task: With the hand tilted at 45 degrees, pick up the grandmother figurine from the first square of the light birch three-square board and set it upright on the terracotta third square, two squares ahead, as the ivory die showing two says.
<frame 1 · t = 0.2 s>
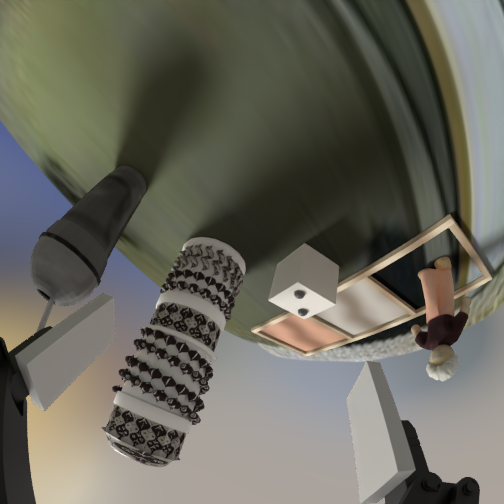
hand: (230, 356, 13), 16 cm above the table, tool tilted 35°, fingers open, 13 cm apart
game board: (357, 310, 36), on the table
ivory die: (307, 264, 31), on the table
beverage cup: (130, 180, 28), on the table
grandmother figurine: (432, 270, 27), resting in game board
decorative candle: (214, 259, 35), on the table
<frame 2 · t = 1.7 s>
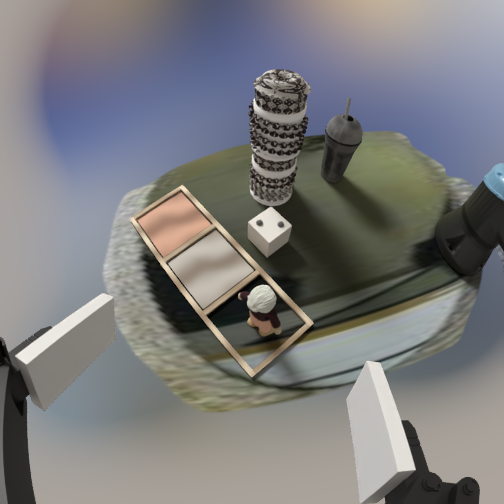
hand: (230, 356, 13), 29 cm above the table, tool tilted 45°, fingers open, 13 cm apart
game board: (209, 267, 47), on the table
ivory die: (268, 239, 49), on the table
beverage cup: (330, 175, 58), on the table
grandmother figurine: (258, 322, 43), resting in game board
decorative candle: (270, 190, 55), on the table
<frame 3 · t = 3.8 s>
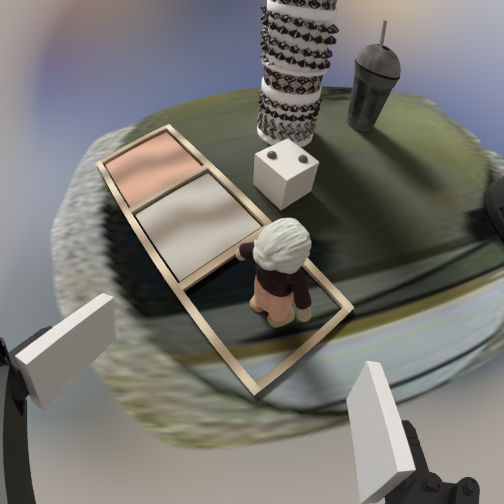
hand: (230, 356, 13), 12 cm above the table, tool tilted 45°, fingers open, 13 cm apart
game board: (194, 220, 31), on the table
ivory die: (282, 187, 34), on the table
beverage cup: (358, 125, 42), on the table
grandmother figurine: (267, 304, 27), resting in game board
decorative candle: (284, 132, 39), on the table
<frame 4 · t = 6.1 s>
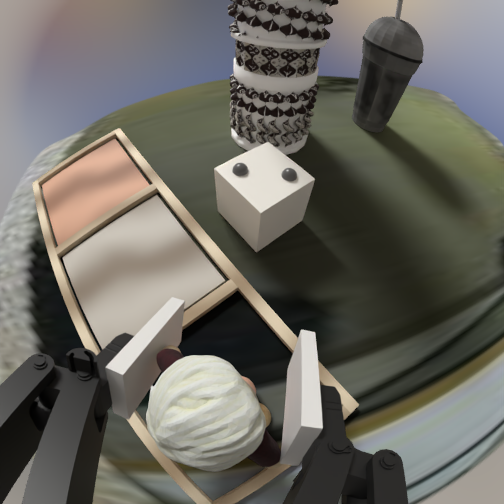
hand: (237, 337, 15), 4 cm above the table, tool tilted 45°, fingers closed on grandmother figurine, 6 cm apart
game board: (132, 269, 20), on the table
ivory die: (260, 215, 23), on the table
beverage cup: (367, 123, 32), on the table
grandmother figurine: (231, 402, 16), resting in game board, touching gripper
decorative candle: (268, 133, 29), on the table
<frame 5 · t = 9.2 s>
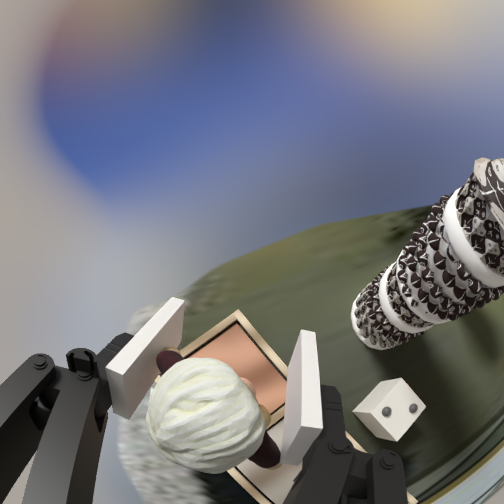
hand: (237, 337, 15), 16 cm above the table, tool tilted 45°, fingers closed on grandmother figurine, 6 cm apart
game board: (296, 462, 24), on the table
ivory die: (378, 409, 26), on the table
grandmother figurine: (231, 403, 16), point 12 cm above the table, touching gripper
decorative candle: (379, 318, 32), on the table
when the fingers open (5 cm above the table, at t = 12.5 s): grandmother figurine stays where it is, resting on game board.
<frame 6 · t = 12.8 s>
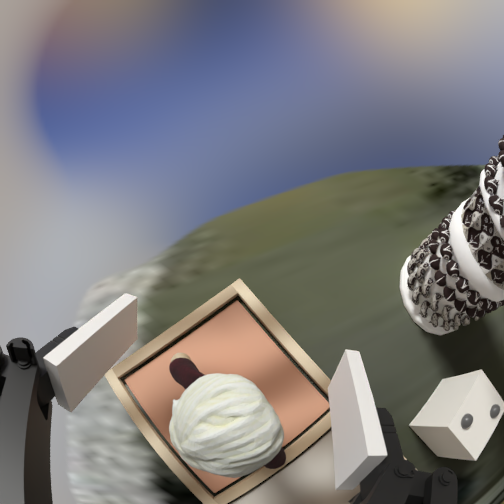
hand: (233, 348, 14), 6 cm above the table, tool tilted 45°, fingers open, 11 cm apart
ivory die: (441, 418, 16), on the table
grandmother figurine: (233, 404, 17), resting on game board
decorative candle: (434, 291, 22), on the table
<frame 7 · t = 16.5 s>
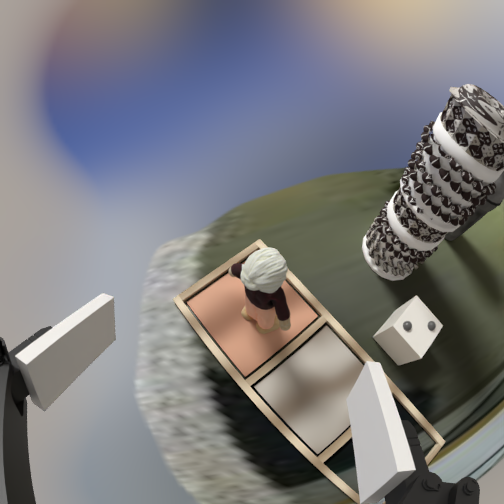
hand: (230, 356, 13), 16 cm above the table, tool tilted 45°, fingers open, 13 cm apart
game board: (323, 390, 26), on the table
ivory die: (397, 337, 29), on the table
beverage cup: (446, 229, 38), on the table
grandmother figurine: (257, 313, 30), resting on game board
decorative candle: (388, 253, 35), on the table
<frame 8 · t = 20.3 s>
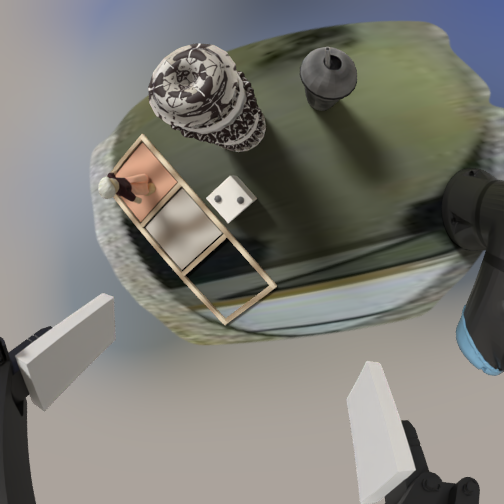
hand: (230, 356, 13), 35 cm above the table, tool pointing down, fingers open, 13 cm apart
game board: (181, 229, 48), on the table
ivory die: (235, 197, 46), on the table
beverage cup: (320, 98, 40), on the table
grandmother figurine: (144, 183, 47), resting on game board
decorative candle: (240, 127, 43), on the table
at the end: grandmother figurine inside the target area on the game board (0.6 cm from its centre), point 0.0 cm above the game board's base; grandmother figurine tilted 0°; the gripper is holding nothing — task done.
